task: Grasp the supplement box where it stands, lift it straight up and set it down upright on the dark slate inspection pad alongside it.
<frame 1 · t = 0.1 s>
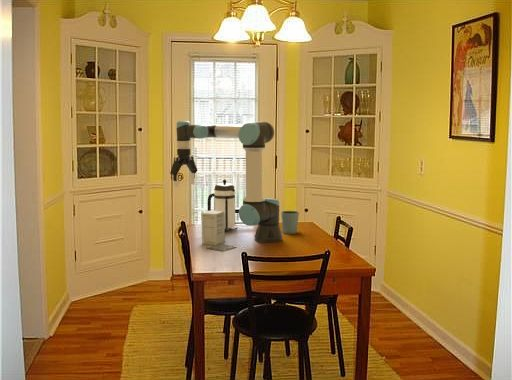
hand: (184, 185, 338), 28 cm above the table, fingers open, 13 cm apart
trivet: (221, 247, 306), on the table
supplement box: (213, 243, 318), on the table
coffee press: (222, 229, 354), on the table
drinking glass: (289, 232, 345), on the table
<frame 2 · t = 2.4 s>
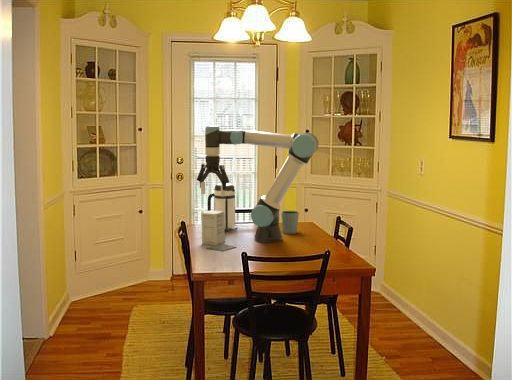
hand: (212, 195, 314), 26 cm above the table, fingers open, 13 cm apart
nothing on the table moved.
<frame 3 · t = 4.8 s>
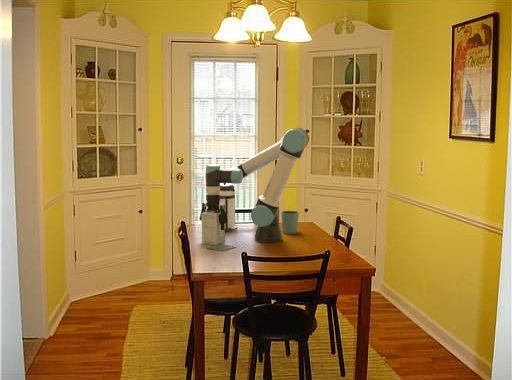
hand: (213, 234, 317), 4 cm above the table, fingers closed on supplement box, 10 cm apart
supplement box: (213, 243, 318), on the table, touching gripper
everything else where it was.
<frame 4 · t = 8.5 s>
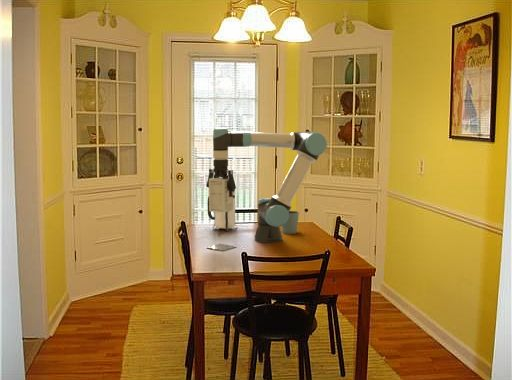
hand: (221, 202, 302), 24 cm above the table, fingers closed on supplement box, 10 cm apart
supplement box: (221, 211, 303), point 19 cm above the table, touching gripper
everything else where it was.
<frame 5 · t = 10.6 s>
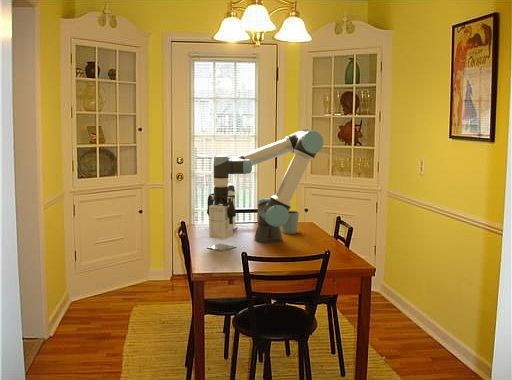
hand: (221, 228, 304), 10 cm above the table, fingers closed on supplement box, 10 cm apart
supplement box: (221, 237, 305), point 5 cm above the table, touching gripper
everything else where it was.
when the fingers open (7 cm above the table, at t = 12.4 s): supplement box drops 2 cm, resting on trivet.
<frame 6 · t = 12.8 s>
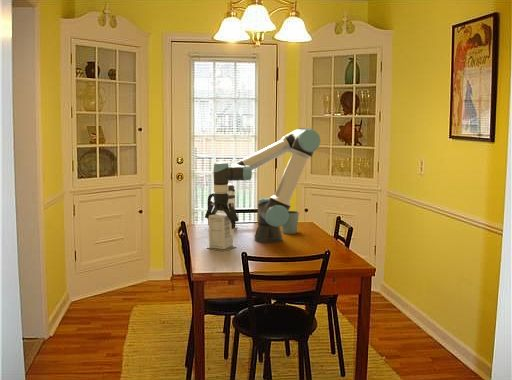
hand: (221, 233, 305), 8 cm above the table, fingers open, 13 cm apart
supplement box: (221, 247, 306), resting on trivet
everything else where it was.
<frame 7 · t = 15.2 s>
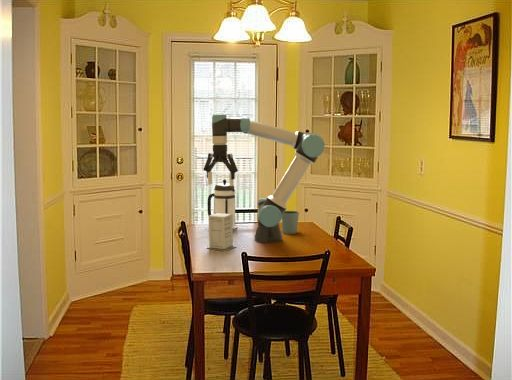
hand: (220, 185, 307), 32 cm above the table, fingers open, 13 cm apart
nothing on the table moved.
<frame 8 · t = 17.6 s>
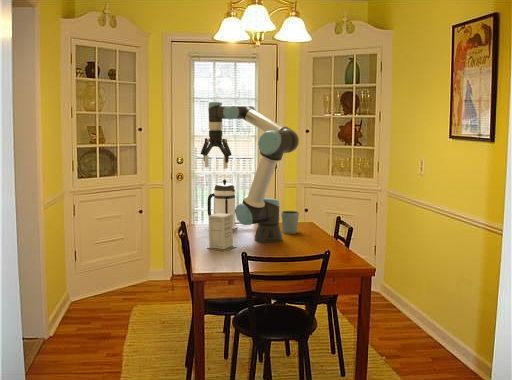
hand: (216, 167, 330), 39 cm above the table, fingers open, 13 cm apart
nothing on the table moved.
at the end: supplement box inside the target area on the trivet (0.4 cm from its centre), point 0.4 cm above the trivet's base; supplement box tilted 0°; the gripper is holding nothing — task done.
